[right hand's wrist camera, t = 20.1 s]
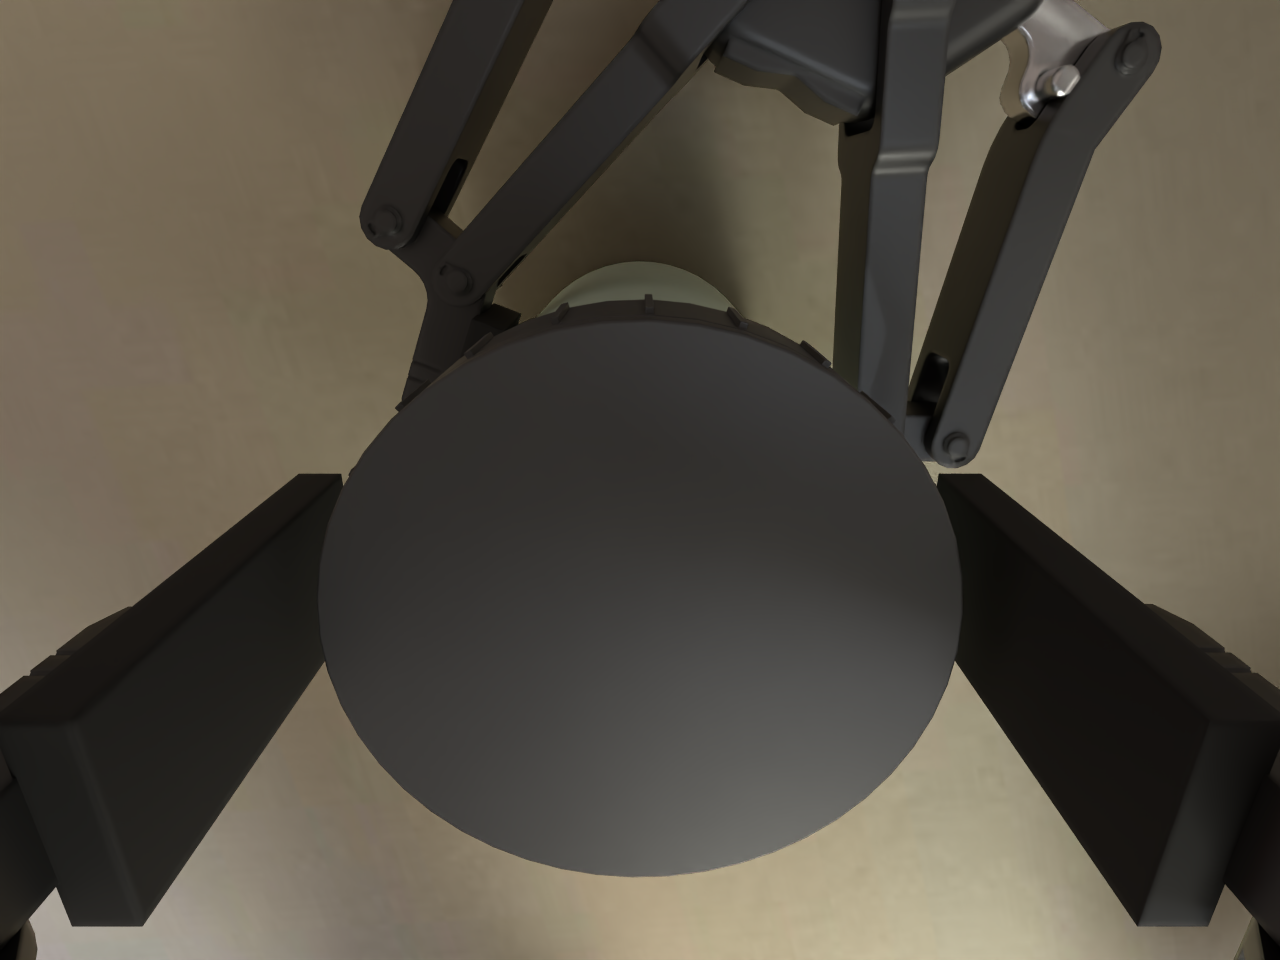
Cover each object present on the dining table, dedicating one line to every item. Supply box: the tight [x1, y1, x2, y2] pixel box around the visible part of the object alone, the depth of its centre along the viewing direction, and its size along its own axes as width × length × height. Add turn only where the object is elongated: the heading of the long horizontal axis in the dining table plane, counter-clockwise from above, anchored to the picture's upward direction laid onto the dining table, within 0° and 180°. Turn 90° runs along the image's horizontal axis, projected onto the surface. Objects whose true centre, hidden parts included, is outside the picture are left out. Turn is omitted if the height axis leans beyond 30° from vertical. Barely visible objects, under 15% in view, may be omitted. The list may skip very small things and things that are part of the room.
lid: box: [316, 294, 963, 877], centre depth 11 cm, size 9×9×2 cm
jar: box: [536, 261, 743, 318], centre depth 18 cm, size 8×8×15 cm
